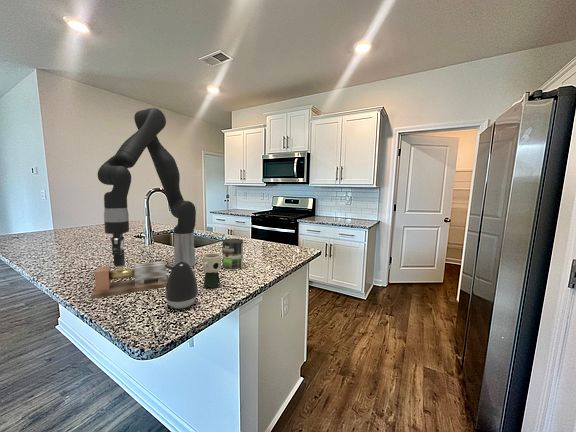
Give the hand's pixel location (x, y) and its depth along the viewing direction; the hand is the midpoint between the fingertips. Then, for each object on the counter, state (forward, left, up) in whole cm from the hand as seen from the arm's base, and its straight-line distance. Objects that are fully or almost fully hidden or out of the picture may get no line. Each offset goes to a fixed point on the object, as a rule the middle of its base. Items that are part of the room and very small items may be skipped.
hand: (118, 262), depth 93 cm
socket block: (+5, 0, -9) cm, 11 cm away
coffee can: (-47, -7, -11) cm, 49 cm away
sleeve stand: (-4, 0, -11) cm, 12 cm away
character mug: (-32, +12, -11) cm, 36 cm away
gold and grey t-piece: (-1, 0, -6) cm, 6 cm away
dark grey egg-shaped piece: (-19, +24, -11) cm, 33 cm away
